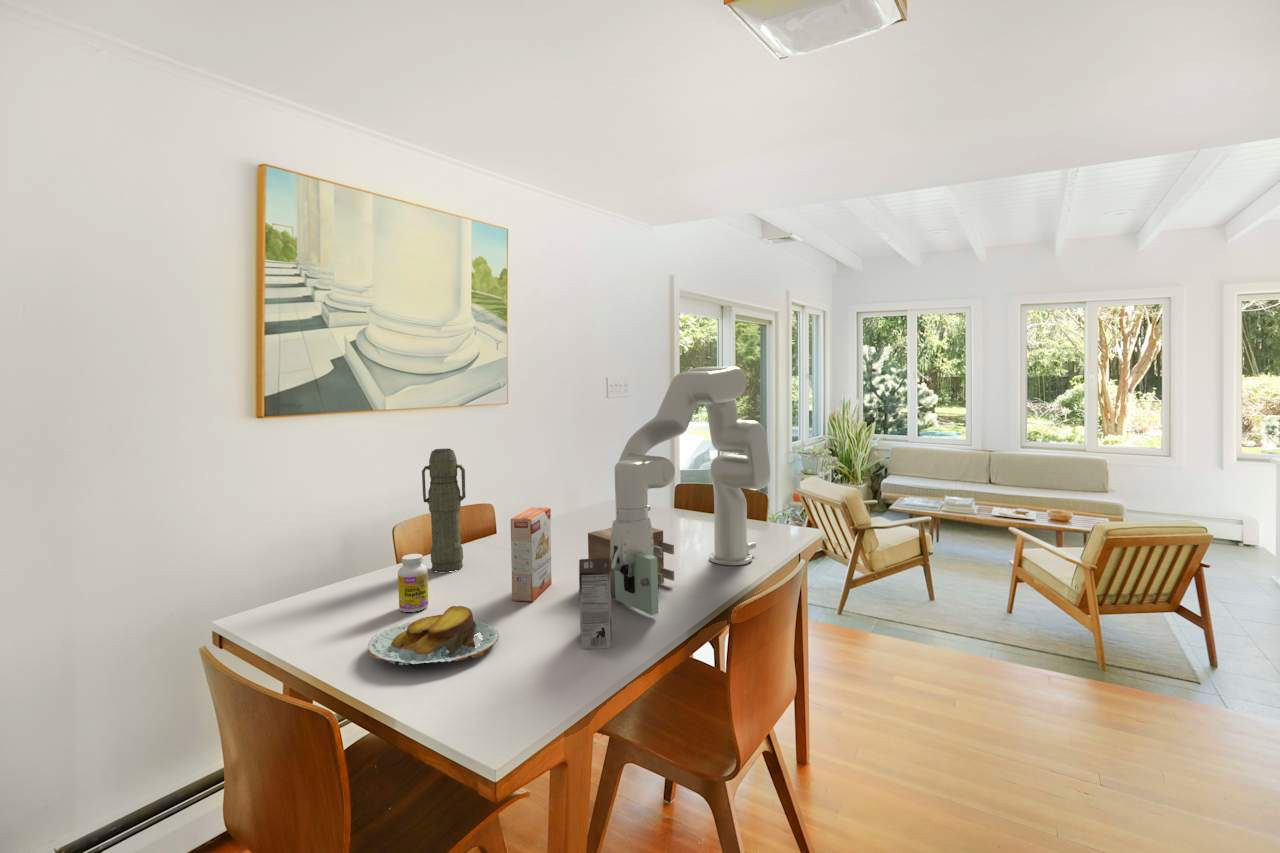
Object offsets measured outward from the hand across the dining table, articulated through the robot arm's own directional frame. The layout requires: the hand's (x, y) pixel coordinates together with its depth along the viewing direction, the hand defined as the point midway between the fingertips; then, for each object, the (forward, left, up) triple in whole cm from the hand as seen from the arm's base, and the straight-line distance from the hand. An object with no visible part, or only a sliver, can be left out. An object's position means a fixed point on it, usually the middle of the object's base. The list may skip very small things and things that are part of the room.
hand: (633, 589), depth 144 cm
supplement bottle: (+38, -37, -5) cm, 54 cm away
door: (0, 0, -4) cm, 4 cm away
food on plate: (+43, -12, -5) cm, 45 cm away
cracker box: (+11, -27, -5) cm, 30 cm away
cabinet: (-11, -14, -5) cm, 18 cm away
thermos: (+19, -62, -5) cm, 65 cm away
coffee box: (+16, +7, -5) cm, 19 cm away
